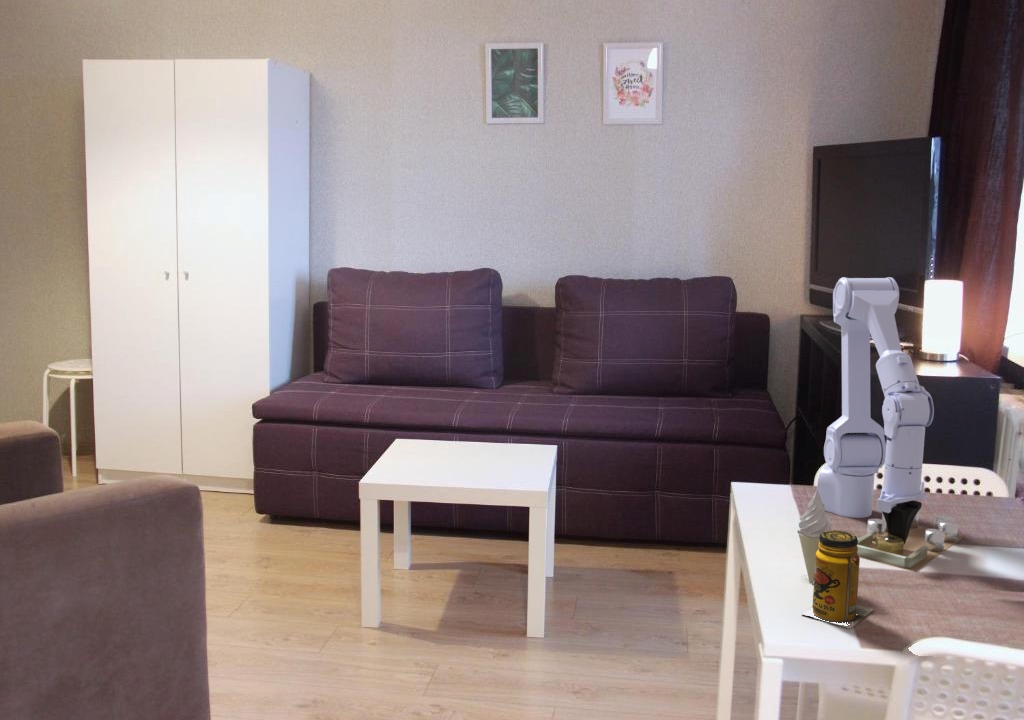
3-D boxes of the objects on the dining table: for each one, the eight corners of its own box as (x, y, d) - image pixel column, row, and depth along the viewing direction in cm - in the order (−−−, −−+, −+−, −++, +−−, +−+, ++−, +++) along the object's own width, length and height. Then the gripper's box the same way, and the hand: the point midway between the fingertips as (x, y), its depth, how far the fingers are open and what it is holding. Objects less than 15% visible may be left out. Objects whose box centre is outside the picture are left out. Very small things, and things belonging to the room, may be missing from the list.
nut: (877, 557, 172) (878, 542, 172) (874, 547, 177) (875, 532, 176) (903, 559, 171) (905, 544, 171) (899, 549, 176) (900, 534, 175)
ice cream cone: (828, 579, 166) (835, 486, 163) (827, 591, 161) (833, 495, 159) (795, 574, 168) (801, 483, 165) (793, 586, 163) (798, 492, 160)
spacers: (863, 538, 181) (864, 521, 180) (894, 519, 191) (896, 503, 190) (936, 556, 173) (937, 538, 172) (964, 535, 183) (966, 519, 182)
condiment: (800, 615, 153) (805, 536, 150) (825, 598, 159) (830, 521, 157) (849, 630, 148) (855, 548, 146) (873, 611, 154) (879, 532, 152)
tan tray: (839, 559, 175) (840, 543, 174) (893, 526, 191) (894, 511, 190) (914, 578, 166) (915, 562, 166) (964, 542, 183) (965, 527, 182)
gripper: (910, 478, 166) (904, 561, 168) (944, 460, 176) (938, 538, 179) (866, 469, 170) (861, 550, 173) (902, 452, 181) (896, 528, 183)
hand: (897, 543), depth 176 cm, fingers closed
